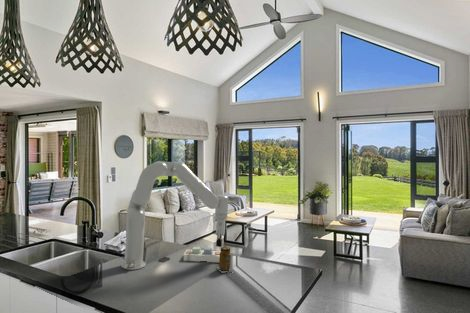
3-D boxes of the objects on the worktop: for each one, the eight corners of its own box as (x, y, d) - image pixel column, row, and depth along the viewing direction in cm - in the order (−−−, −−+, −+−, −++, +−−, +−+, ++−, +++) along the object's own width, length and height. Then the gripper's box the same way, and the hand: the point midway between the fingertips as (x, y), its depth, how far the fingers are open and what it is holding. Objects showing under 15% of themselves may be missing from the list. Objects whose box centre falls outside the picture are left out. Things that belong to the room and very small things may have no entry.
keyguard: (226, 262, 174) (226, 255, 174) (183, 260, 174) (183, 253, 174) (227, 257, 184) (227, 250, 184) (186, 255, 184) (186, 248, 184)
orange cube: (222, 260, 177) (222, 254, 177) (215, 259, 177) (215, 253, 177) (222, 257, 181) (223, 251, 181) (215, 257, 181) (216, 251, 181)
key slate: (211, 255, 177) (211, 250, 177) (203, 255, 177) (204, 249, 177) (211, 253, 181) (212, 247, 181) (204, 253, 181) (204, 247, 181)
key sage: (199, 255, 177) (199, 249, 177) (192, 254, 177) (192, 249, 177) (200, 252, 181) (200, 247, 181) (193, 252, 181) (193, 246, 181)
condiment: (228, 267, 167) (229, 246, 167) (233, 272, 159) (234, 250, 159) (216, 268, 165) (217, 246, 165) (220, 274, 157) (221, 251, 157)
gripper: (226, 218, 172) (224, 250, 171) (227, 214, 187) (225, 243, 186) (213, 217, 172) (211, 249, 171) (215, 213, 187) (213, 242, 186)
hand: (218, 246), depth 179 cm, fingers closed
